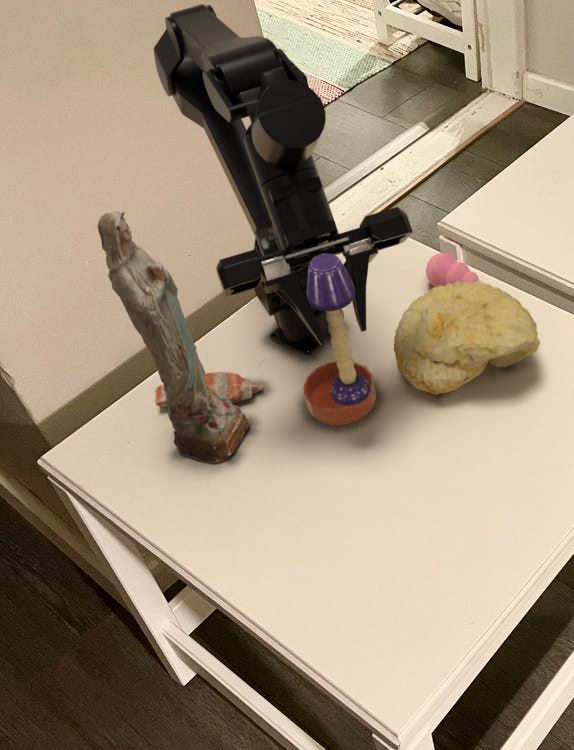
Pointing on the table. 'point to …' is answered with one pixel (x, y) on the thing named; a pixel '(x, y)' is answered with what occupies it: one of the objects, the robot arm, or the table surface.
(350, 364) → the toy lamp
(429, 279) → the dog chew toy
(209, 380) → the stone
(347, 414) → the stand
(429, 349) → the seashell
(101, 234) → the statue
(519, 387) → the table surface
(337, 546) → the table surface
